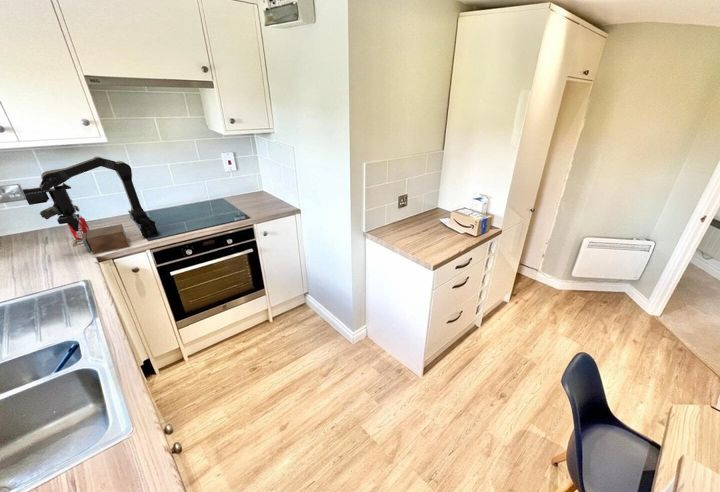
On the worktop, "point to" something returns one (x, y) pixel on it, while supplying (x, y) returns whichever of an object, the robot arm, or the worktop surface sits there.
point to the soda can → (82, 229)
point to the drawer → (83, 243)
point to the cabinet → (107, 239)
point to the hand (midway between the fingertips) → (76, 231)
